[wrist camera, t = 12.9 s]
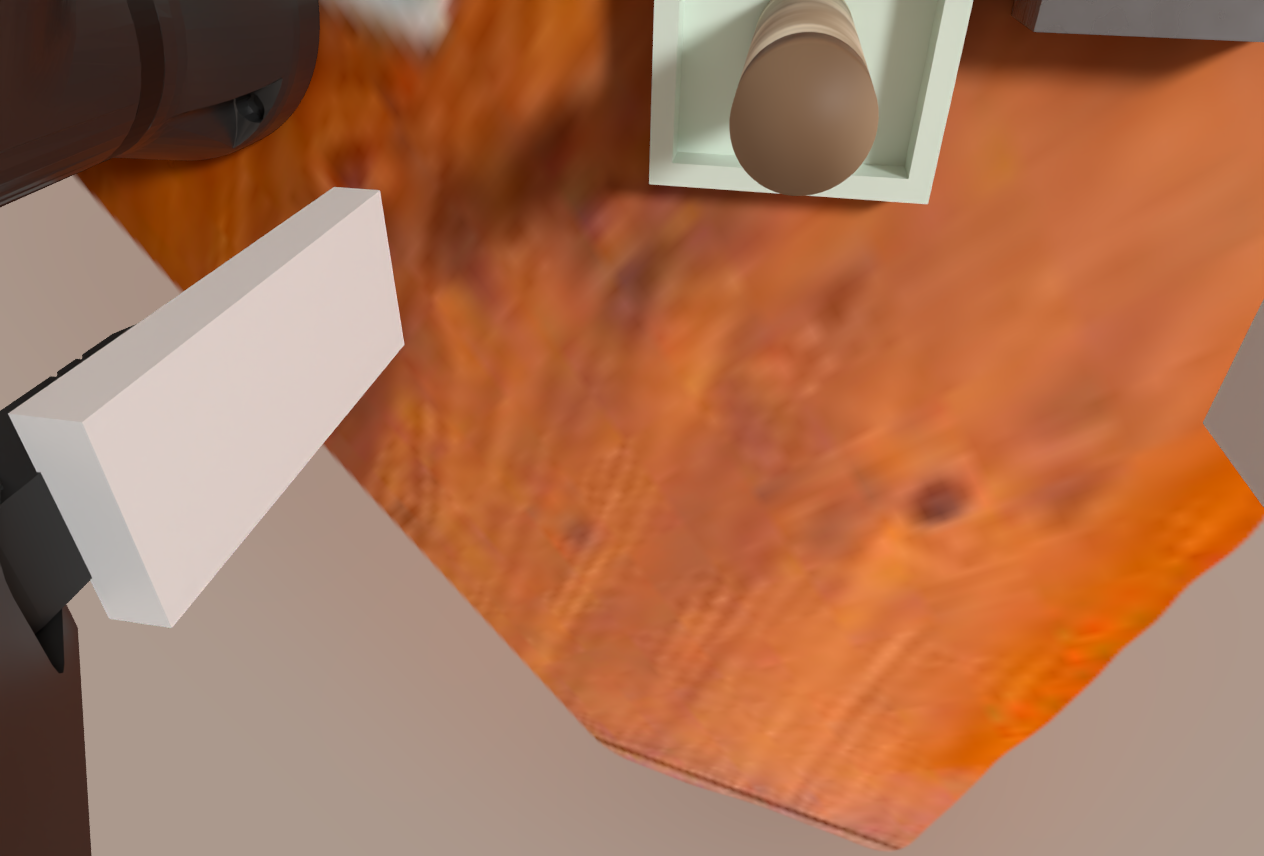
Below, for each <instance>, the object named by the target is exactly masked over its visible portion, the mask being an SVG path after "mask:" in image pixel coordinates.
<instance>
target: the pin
mask: <svg viewBox="0 0 1264 856" xmlns="http://www.w3.org/2000/svg"><path fill="white" fill-rule="evenodd" d="M878 120H879V108H878V102H877V97H876V93H875V90H874V87H873V83H872V80H871V77H870V74H869V70H868V67H867V64H866V61H865V57H864V54H863V51H862V48H861V44H860V41H859V38H858V35H857V31H856V28H855V25H854V22H853V18H852V15H851V12H850V10H849V8H848V6H847V4H846V2H845V1H844V0H770V1H769V2H768V4H767V5H766V6H765V8H764V9H763V11H762V13H761V15H760V17H759V20H758V22H757V25H756V29H755V32H754V35H753V38H752V42H751V45H750V48H749V51H748V55H747V58H746V61H745V64H744V68H743V71H742V74H741V77H740V81H739V84H738V87H737V90H736V94H735V97H734V100H733V104H732V107H731V112H730V119H729V131H730V139H731V143H732V147H733V150H734V153H735V155H736V157H737V159H738V161H739V163H740V165H741V166H742V167H743V169H744V170H745V171H746V173H747V174H748V175H749V176H750V177H751V178H752V179H753V180H755V181H756V182H757V183H759V184H760V185H762V186H763V187H765V188H767V189H769V190H771V191H774V192H777V193H780V194H784V195H791V196H806V195H813V194H817V193H821V192H824V191H827V190H829V189H831V188H833V187H835V186H837V185H839V184H840V183H842V182H843V181H845V180H846V179H847V178H849V177H850V176H851V175H852V174H853V173H854V172H855V171H856V170H857V169H858V168H859V167H860V166H861V164H862V163H863V161H864V160H865V159H866V157H867V155H868V153H869V152H870V150H871V148H872V145H873V143H874V140H875V137H876V133H877V129H878Z"/></svg>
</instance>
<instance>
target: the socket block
mask: <svg viewBox="0 0 1264 856" xmlns="http://www.w3.org/2000/svg"><path fill="white" fill-rule="evenodd" d="M1011 16H1012V17H1013V18H1015V19H1016V20H1018V21H1019V22H1020V23H1022V24H1023V25H1025V26H1026V27H1028V28H1029V29H1030V30H1032V31H1033V32H1047V33H1070V34H1092V35H1115V36H1137V37H1160V38H1182V39H1205V40H1228V41H1250V42H1264V0H1015V1H1014V5H1013V9H1012V13H1011Z"/></svg>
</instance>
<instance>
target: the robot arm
mask: <svg viewBox="0 0 1264 856" xmlns="http://www.w3.org/2000/svg"><path fill="white" fill-rule="evenodd" d="M319 30H320V25H319V5H318V0H0V207H2V206H4V205H6V204H9V203H11V202H13V201H16V200H18V199H20V198H22V197H24V196H27V195H29V194H31V193H34V192H36V191H38V190H40V189H43V188H45V187H47V186H49V185H52V184H54V183H56V182H58V181H61V180H63V179H65V178H67V177H70V176H72V175H74V174H77V173H79V172H81V171H83V170H86V169H88V168H90V167H92V166H94V165H97V164H99V163H101V162H104V161H106V160H109V159H111V158H132V159H156V160H179V161H196V160H205V159H211V158H216V157H220V156H224V155H227V154H230V153H233V152H236V151H238V150H240V149H242V148H244V147H246V146H248V145H250V144H252V143H254V142H256V141H258V140H260V139H262V138H264V137H266V136H267V135H269V134H271V133H272V132H274V131H275V130H276V129H278V128H279V127H280V126H281V125H282V124H283V123H284V122H285V121H286V120H287V119H288V118H289V117H290V116H291V115H292V114H293V112H294V111H295V109H296V108H297V107H298V105H299V104H300V102H301V100H302V98H303V97H304V95H305V93H306V90H307V88H308V86H309V83H310V81H311V78H312V75H313V71H314V68H315V64H316V59H317V53H318V45H319ZM403 346H404V339H403V333H402V327H401V321H400V314H399V308H398V302H397V295H396V289H395V283H394V276H393V270H392V264H391V258H390V251H389V245H388V239H387V232H386V226H385V220H384V213H383V207H382V201H381V195H380V190H368V189H354V188H340V187H333V188H332V189H331V190H329V191H328V192H326V193H325V194H323V195H322V196H320V197H319V198H318V199H316V200H315V201H313V202H312V203H310V204H309V205H308V206H306V207H305V208H303V209H302V210H300V211H299V212H297V213H296V214H295V215H293V216H292V217H290V218H289V219H287V220H286V221H285V222H283V223H282V224H280V225H279V226H277V227H276V228H274V229H273V230H272V231H270V232H269V233H267V234H266V235H264V236H263V237H261V238H260V239H259V240H257V241H256V242H254V243H253V244H251V245H250V246H249V247H247V248H246V249H244V250H243V251H241V252H240V253H238V254H237V255H236V256H234V257H233V258H231V259H230V260H228V261H227V262H225V263H224V264H223V265H221V266H220V267H218V268H217V269H215V270H214V271H213V272H211V273H210V274H208V275H207V276H205V277H204V278H202V279H201V280H200V281H198V282H197V283H195V284H194V285H192V286H191V287H189V288H188V289H187V290H185V291H184V292H182V293H181V294H179V295H178V296H177V297H175V298H174V299H172V300H171V301H169V302H168V303H166V304H165V305H164V306H162V307H161V308H159V309H158V310H156V311H155V312H153V313H152V314H151V315H149V316H148V317H146V318H145V319H143V320H142V321H141V322H139V323H138V324H136V325H133V326H131V327H128V328H126V329H123V330H121V331H119V332H116V333H114V334H112V335H110V336H109V337H107V338H106V339H105V340H103V341H102V342H100V343H99V344H97V345H96V346H94V347H93V348H91V349H90V350H88V351H87V352H86V353H84V354H83V355H82V359H81V360H80V359H75V360H74V361H73V362H71V363H69V364H68V365H67V366H65V367H64V368H62V369H61V370H59V371H58V372H57V377H49V378H48V379H46V380H45V381H43V382H42V383H40V384H39V385H37V386H36V387H35V388H33V389H32V390H30V391H29V392H27V393H26V394H24V395H23V396H21V397H20V398H18V399H17V400H16V401H14V402H12V403H11V404H10V405H8V406H7V407H5V408H4V409H2V410H1V411H0V856H91V843H90V826H89V809H88V793H87V778H86V777H87V776H86V759H85V742H84V726H83V709H82V694H81V693H82V692H81V676H80V659H79V642H78V628H77V625H76V623H75V622H74V619H73V617H72V615H71V613H70V611H69V609H68V607H67V605H66V604H67V603H68V602H69V601H70V600H71V599H72V598H73V597H74V596H75V595H76V594H77V593H78V592H79V591H80V590H81V589H82V588H83V587H84V586H85V585H86V584H87V583H88V582H89V581H91V583H92V585H93V587H94V589H95V591H96V593H97V595H98V597H99V599H100V601H101V603H102V605H103V607H104V609H105V611H106V613H107V615H108V617H109V619H115V620H122V621H128V622H135V623H141V624H149V625H155V626H162V627H168V628H172V627H173V626H174V625H175V623H176V622H177V621H178V620H179V618H180V617H181V616H182V615H183V614H184V612H185V611H186V610H187V609H188V608H189V606H190V605H191V604H192V603H193V601H194V600H195V599H196V598H197V596H198V595H199V594H200V593H201V592H202V590H203V589H204V588H205V587H206V585H207V584H208V583H209V582H210V581H211V579H212V578H213V577H214V576H215V574H216V573H217V572H218V571H219V570H220V569H221V567H222V566H223V565H224V564H225V562H226V561H227V560H228V559H229V557H230V556H231V555H232V554H233V553H234V551H235V550H236V549H237V548H238V547H239V545H240V544H241V542H243V541H244V539H245V538H246V537H247V535H248V534H249V533H250V532H251V531H252V530H253V528H254V527H255V526H256V525H257V523H258V522H259V521H260V520H261V518H262V517H263V516H264V515H265V514H266V512H267V511H268V510H269V509H270V507H271V506H272V505H273V504H274V503H275V502H276V500H277V499H278V498H279V497H280V495H281V494H282V493H283V492H284V490H285V489H286V488H287V487H288V486H289V484H290V483H291V482H292V481H293V479H294V478H295V477H296V476H297V475H298V473H299V472H300V471H301V470H302V468H303V467H304V466H305V465H306V464H307V463H308V461H309V460H310V459H311V457H312V456H313V455H314V454H315V453H316V452H317V450H318V449H319V448H320V447H321V445H322V444H323V443H324V442H325V441H326V439H327V438H328V437H329V436H330V435H331V433H332V432H333V431H334V430H335V428H336V427H337V426H338V425H339V424H340V422H341V421H342V420H343V419H344V417H345V416H346V415H347V414H348V413H349V411H350V410H351V409H352V408H353V407H354V405H355V404H356V403H357V402H358V400H359V399H360V398H361V397H362V396H363V394H364V393H365V392H366V391H367V389H368V388H369V387H370V386H371V385H372V383H373V382H374V381H375V380H376V378H377V377H378V376H379V375H380V374H381V372H382V371H383V370H384V369H385V368H386V366H387V365H388V364H389V363H390V361H391V360H392V359H393V358H394V357H395V355H396V354H397V353H398V352H399V350H400V349H401V348H402V347H403ZM1203 424H1204V425H1205V427H1206V428H1207V430H1208V431H1209V432H1210V434H1211V435H1212V437H1213V438H1214V439H1215V441H1216V442H1217V443H1218V445H1219V446H1220V448H1221V449H1222V450H1223V452H1224V453H1225V454H1226V456H1227V457H1228V459H1229V460H1230V461H1231V463H1232V464H1233V466H1234V467H1235V468H1236V470H1237V471H1238V472H1239V474H1240V475H1241V477H1242V478H1243V479H1244V481H1245V482H1246V483H1247V485H1248V486H1249V488H1250V489H1251V490H1252V492H1253V493H1254V495H1255V496H1256V497H1257V499H1258V500H1259V501H1260V503H1261V504H1262V506H1263V507H1264V300H1263V302H1262V304H1261V306H1260V308H1259V310H1258V312H1257V314H1256V316H1255V318H1254V320H1253V322H1252V324H1251V326H1250V328H1249V330H1248V332H1247V334H1246V336H1245V338H1244V340H1243V342H1242V344H1241V346H1240V348H1239V350H1238V352H1237V354H1236V357H1235V359H1234V361H1233V363H1232V365H1231V367H1230V369H1229V371H1228V373H1227V375H1226V377H1225V379H1224V381H1223V383H1222V385H1221V387H1220V389H1219V391H1218V393H1217V395H1216V397H1215V399H1214V401H1213V403H1212V405H1211V407H1210V409H1209V411H1208V413H1207V415H1206V417H1205V419H1204V421H1203Z"/></svg>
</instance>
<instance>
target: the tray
mask: <svg viewBox="0 0 1264 856" xmlns="http://www.w3.org/2000/svg"><path fill="white" fill-rule="evenodd" d="M769 1H770V0H654V24H653V59H652V94H651V129H650V164H649V184H652V185H666V186H680V187H694V188H708V189H722V190H736V191H750V192H764V193H777V192H774V191H771V190H769V189H767V188H765V187H763V186H762V185H760V184H759V183H757V182H756V181H755V180H753V179H752V178H751V177H750V176H749V175H748V174H747V173H746V171H745V170H744V169H743V167H742V166H741V165H740V163H739V161H738V159H737V157H736V155H735V153H734V150H733V147H732V143H731V139H730V131H729V119H730V112H731V107H732V104H733V100H734V97H735V94H736V90H737V87H738V84H739V81H740V77H741V74H742V71H743V68H744V64H745V61H746V58H747V55H748V51H749V48H750V45H751V42H752V38H753V35H754V32H755V29H756V25H757V22H758V20H759V17H760V15H761V13H762V11H763V9H764V8H765V6H766V5H767V4H768V2H769ZM844 1H845V2H846V4H847V6H848V8H849V10H850V12H851V15H852V18H853V22H854V25H855V28H856V31H857V35H858V38H859V41H860V44H861V48H862V51H863V54H864V57H865V61H866V64H867V67H868V70H869V74H870V77H871V80H872V83H873V87H874V90H875V93H876V97H877V102H878V108H879V120H878V129H877V133H876V137H875V140H874V143H873V145H872V148H871V150H870V152H869V153H868V155H867V157H866V159H865V160H864V161H863V163H862V164H861V166H860V167H859V168H858V169H857V170H856V171H855V172H854V173H853V174H852V175H851V176H850V177H849V178H847V179H846V180H845V181H843V182H842V183H840V184H839V185H837V186H835V187H833V188H831V189H829V190H827V191H824V192H821V193H817V194H813V195H806V196H820V197H834V198H848V199H862V200H876V201H890V202H904V203H918V204H928V201H929V197H930V192H931V188H932V183H933V179H934V175H935V170H936V166H937V161H938V157H939V152H940V148H941V143H942V139H943V134H944V130H945V125H946V121H947V116H948V112H949V107H950V103H951V98H952V94H953V90H954V85H955V81H956V76H957V72H958V67H959V63H960V58H961V54H962V49H963V45H964V40H965V36H966V31H967V27H968V22H969V18H970V13H971V9H972V5H973V0H844ZM778 194H780V193H778Z"/></svg>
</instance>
